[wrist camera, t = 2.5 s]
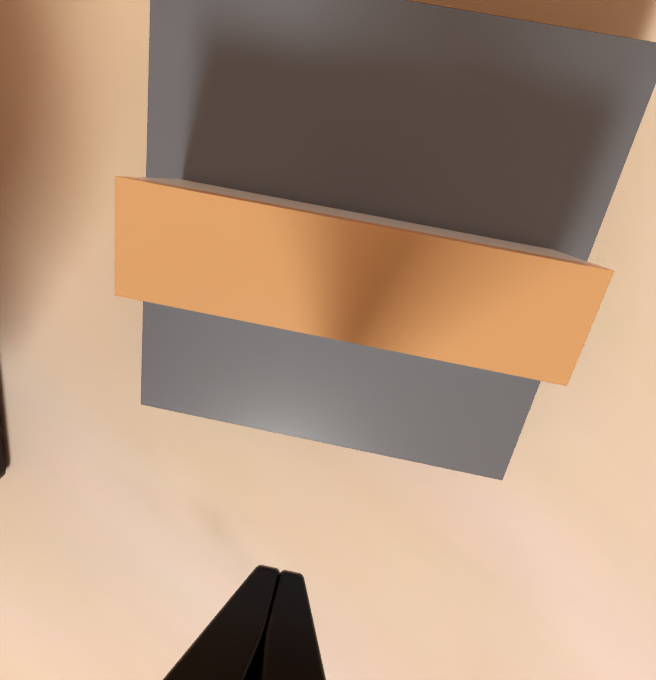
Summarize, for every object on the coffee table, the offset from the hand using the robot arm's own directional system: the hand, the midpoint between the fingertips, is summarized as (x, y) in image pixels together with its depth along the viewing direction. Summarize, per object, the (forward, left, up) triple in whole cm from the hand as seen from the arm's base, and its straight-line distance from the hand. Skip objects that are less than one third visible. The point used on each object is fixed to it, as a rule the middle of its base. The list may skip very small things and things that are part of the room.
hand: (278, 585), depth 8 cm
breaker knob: (+5, 0, -6) cm, 8 cm away
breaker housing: (+5, 0, -8) cm, 10 cm away
